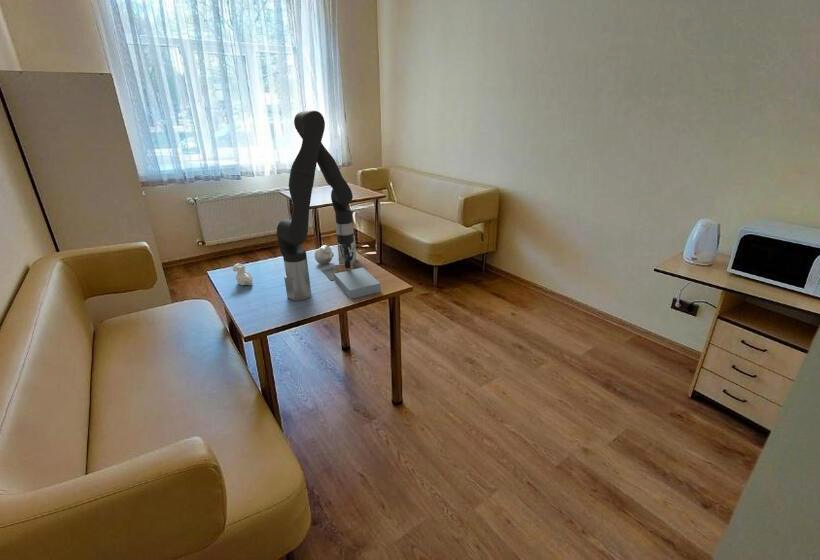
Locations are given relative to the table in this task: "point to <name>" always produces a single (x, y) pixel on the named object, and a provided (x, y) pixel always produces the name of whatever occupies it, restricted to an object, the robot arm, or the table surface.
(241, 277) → the duck figurine
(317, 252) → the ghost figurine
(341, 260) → the supplement box
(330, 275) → the mat
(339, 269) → the tan rectangular block
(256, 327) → the table surface
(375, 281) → the block
